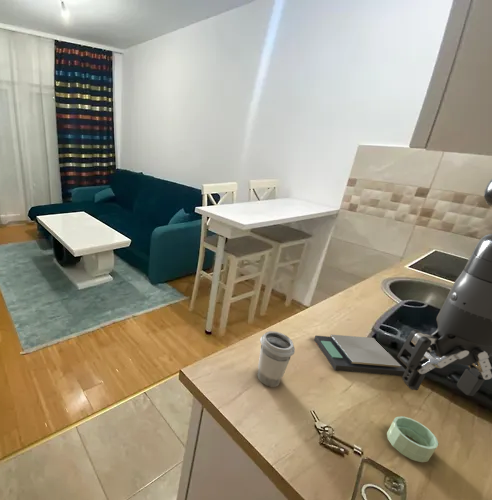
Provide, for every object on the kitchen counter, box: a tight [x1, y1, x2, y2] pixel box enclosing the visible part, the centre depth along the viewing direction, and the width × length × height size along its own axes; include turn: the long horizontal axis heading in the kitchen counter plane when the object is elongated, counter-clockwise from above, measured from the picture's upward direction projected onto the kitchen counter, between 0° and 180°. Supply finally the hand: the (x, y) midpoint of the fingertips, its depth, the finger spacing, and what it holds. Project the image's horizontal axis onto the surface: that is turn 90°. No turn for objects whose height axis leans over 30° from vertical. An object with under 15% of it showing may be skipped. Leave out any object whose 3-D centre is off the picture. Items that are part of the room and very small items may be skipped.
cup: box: [257, 330, 296, 388], centre depth 65 cm, size 7×7×12 cm
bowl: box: [386, 415, 439, 463], centre depth 53 cm, size 6×6×4 cm
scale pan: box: [329, 334, 402, 367], centre depth 73 cm, size 11×10×1 cm
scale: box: [313, 335, 407, 377], centre depth 74 cm, size 16×11×3 cm
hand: (436, 388), depth 48 cm, fingers open, 8 cm apart
